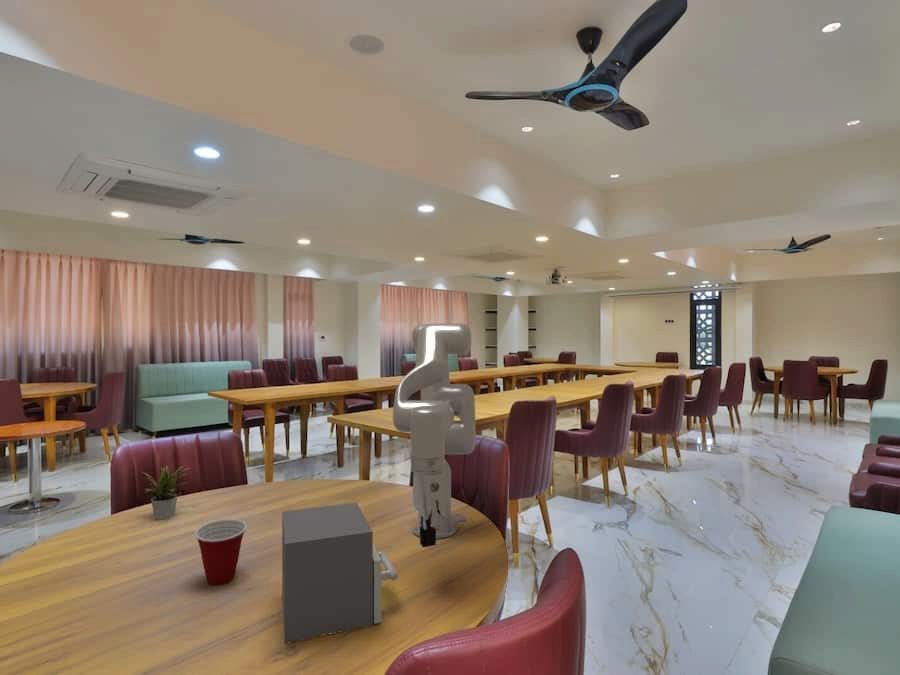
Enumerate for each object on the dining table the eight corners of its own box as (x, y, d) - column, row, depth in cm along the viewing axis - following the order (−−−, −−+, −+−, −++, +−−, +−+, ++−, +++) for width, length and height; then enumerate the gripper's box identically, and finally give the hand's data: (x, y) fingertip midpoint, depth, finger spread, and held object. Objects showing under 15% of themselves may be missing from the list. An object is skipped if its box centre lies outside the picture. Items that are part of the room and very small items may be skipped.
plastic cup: (194, 596, 104) (194, 540, 104) (194, 575, 113) (194, 523, 114) (248, 585, 109) (248, 531, 109) (244, 565, 118) (244, 516, 119)
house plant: (203, 515, 152) (203, 463, 153) (157, 529, 141) (157, 473, 141) (178, 507, 160) (178, 457, 160) (132, 520, 148) (133, 466, 148)
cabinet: (356, 582, 110) (356, 502, 110) (372, 625, 93) (372, 531, 93) (282, 595, 104) (282, 511, 105) (284, 643, 88) (284, 543, 88)
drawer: (382, 576, 112) (382, 524, 112) (401, 618, 95) (401, 556, 95) (289, 592, 105) (289, 536, 105) (293, 640, 88) (293, 574, 88)
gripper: (455, 470, 101) (455, 557, 102) (433, 452, 115) (433, 528, 116) (421, 474, 99) (421, 563, 99) (402, 455, 113) (402, 533, 113)
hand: (427, 544), depth 107 cm, fingers closed
